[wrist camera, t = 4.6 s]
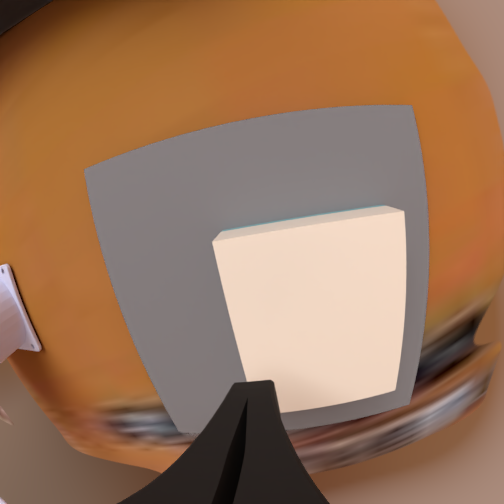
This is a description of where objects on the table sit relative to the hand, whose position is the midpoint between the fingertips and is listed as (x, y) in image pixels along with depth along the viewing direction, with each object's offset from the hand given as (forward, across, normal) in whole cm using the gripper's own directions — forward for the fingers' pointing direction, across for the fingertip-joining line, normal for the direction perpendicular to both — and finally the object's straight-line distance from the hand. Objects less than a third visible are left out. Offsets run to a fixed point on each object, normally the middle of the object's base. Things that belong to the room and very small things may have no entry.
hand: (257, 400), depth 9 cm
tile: (+5, +1, 0) cm, 5 cm away
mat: (+6, -1, 0) cm, 7 cm away
